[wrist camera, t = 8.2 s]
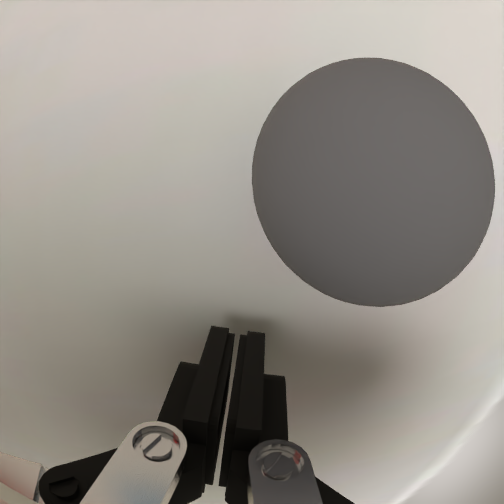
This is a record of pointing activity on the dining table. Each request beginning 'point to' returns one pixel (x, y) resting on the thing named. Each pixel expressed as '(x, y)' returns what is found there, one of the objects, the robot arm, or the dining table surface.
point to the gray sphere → (373, 182)
